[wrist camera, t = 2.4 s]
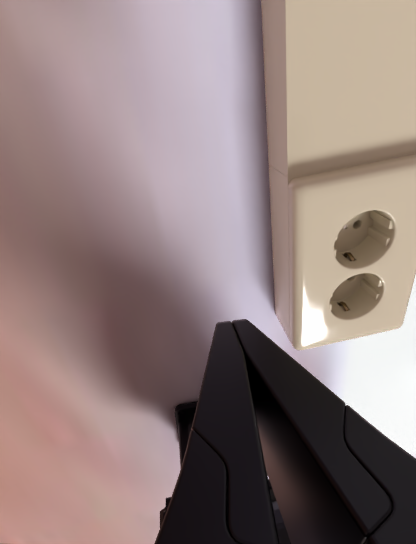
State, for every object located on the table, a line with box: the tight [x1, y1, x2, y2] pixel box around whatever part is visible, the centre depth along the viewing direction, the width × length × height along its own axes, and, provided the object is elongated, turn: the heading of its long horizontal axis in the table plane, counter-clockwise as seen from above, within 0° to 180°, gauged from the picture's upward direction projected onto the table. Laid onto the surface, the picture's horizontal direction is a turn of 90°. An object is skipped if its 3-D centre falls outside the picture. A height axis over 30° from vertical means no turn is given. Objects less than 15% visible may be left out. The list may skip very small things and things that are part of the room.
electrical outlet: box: [261, 0, 416, 350], centre depth 16 cm, size 7×4×18 cm
